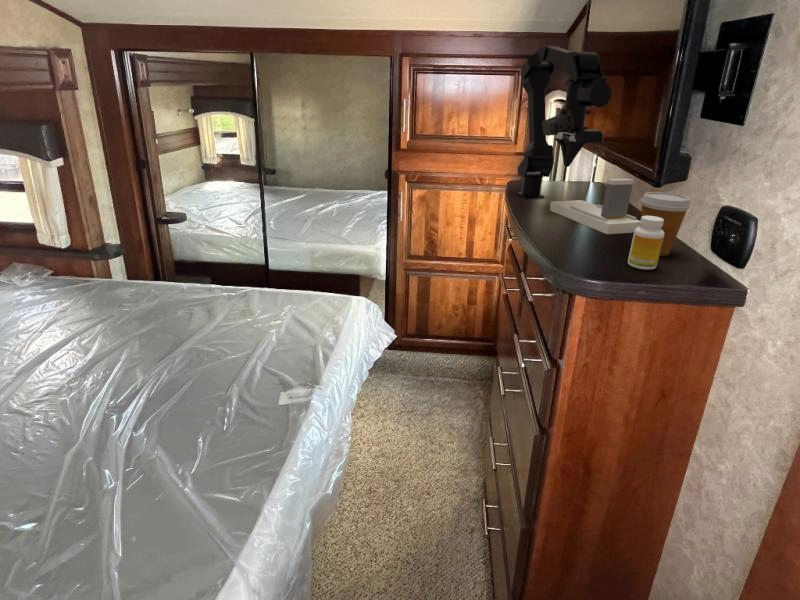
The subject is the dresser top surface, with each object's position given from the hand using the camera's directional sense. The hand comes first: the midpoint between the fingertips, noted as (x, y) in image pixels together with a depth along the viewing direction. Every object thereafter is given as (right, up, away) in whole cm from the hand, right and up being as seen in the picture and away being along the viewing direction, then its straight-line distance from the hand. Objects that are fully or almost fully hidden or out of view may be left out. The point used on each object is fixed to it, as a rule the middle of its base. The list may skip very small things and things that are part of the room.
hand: (566, 166), depth 141 cm
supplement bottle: (+3, -30, -37) cm, 48 cm away
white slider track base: (+5, -15, -5) cm, 17 cm away
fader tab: (+8, -16, -12) cm, 21 cm away
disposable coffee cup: (+10, -26, -28) cm, 39 cm away
